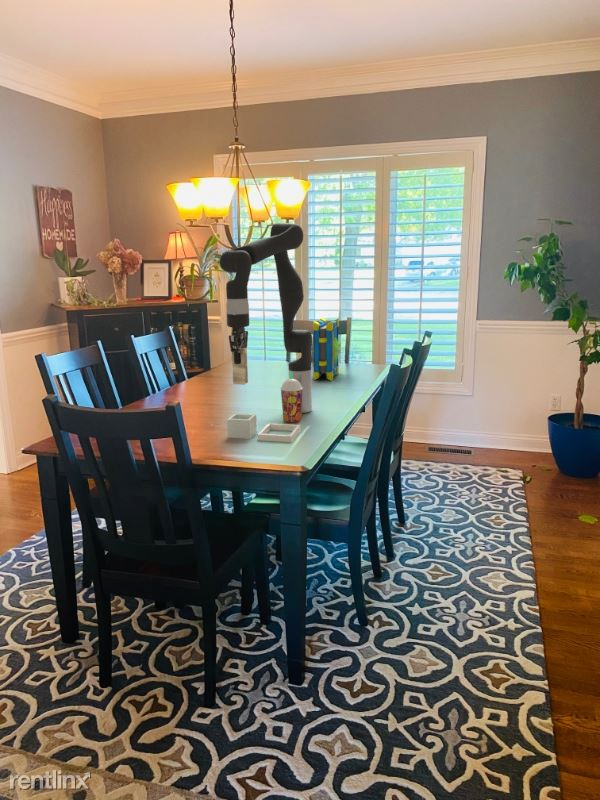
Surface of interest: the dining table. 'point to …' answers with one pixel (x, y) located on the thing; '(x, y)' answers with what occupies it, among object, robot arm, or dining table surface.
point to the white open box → (242, 426)
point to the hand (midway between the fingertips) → (239, 362)
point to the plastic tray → (274, 437)
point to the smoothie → (291, 400)
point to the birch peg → (240, 369)
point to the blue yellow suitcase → (326, 348)
